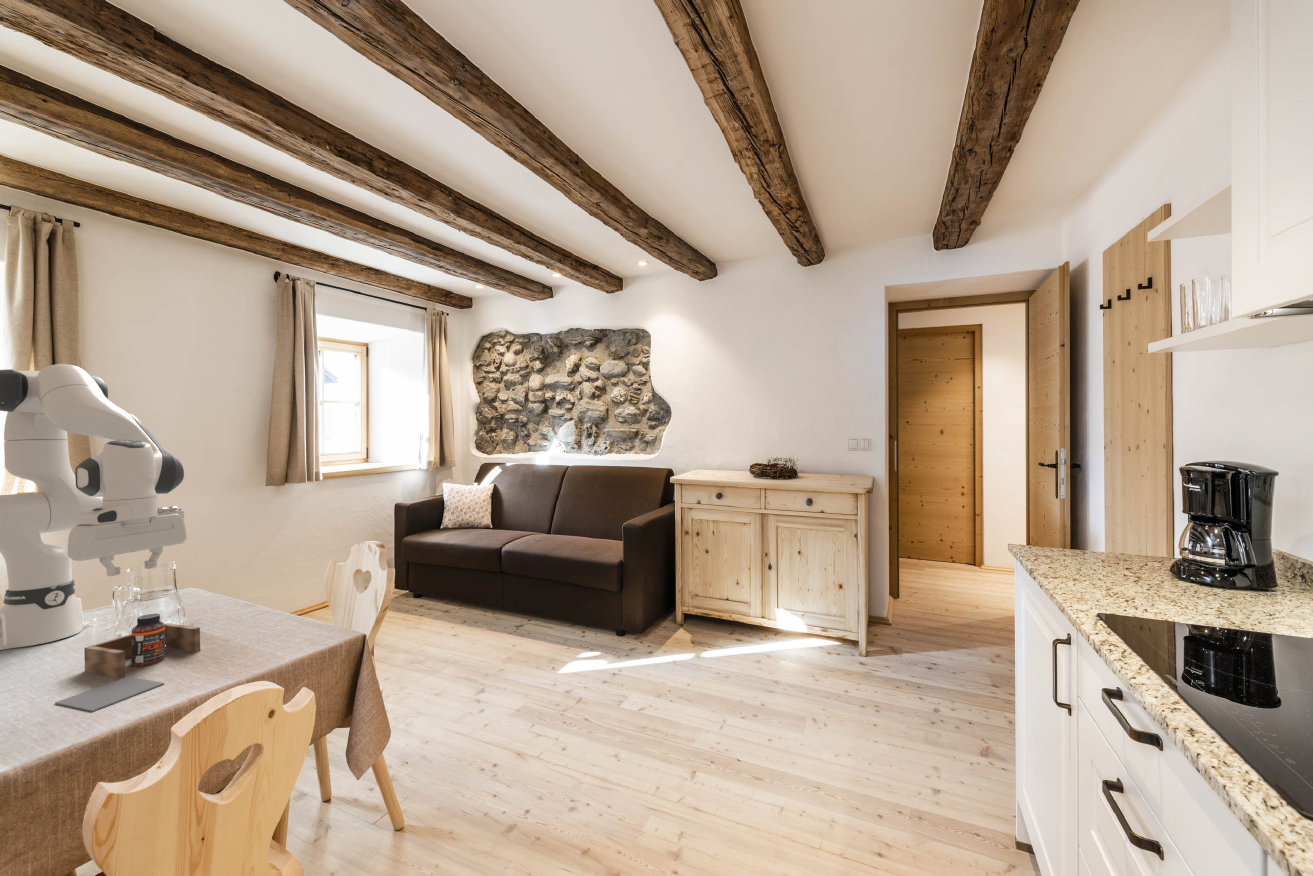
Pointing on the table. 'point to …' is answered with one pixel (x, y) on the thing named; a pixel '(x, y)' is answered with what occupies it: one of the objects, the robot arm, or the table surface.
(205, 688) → the table surface
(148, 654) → the supplement bottle
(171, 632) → the holder
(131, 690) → the mat
